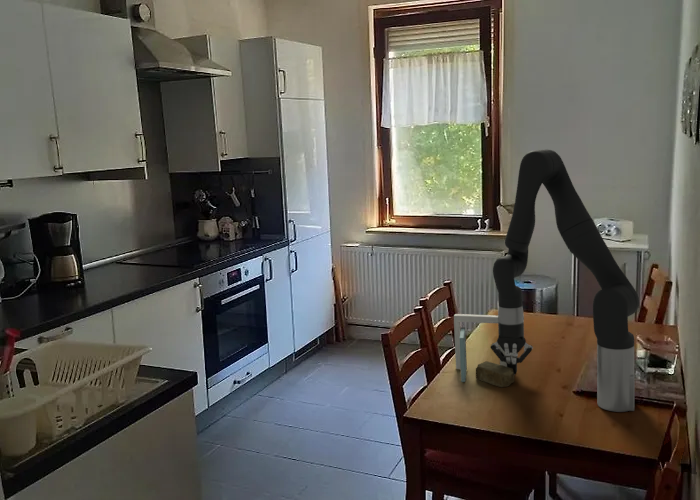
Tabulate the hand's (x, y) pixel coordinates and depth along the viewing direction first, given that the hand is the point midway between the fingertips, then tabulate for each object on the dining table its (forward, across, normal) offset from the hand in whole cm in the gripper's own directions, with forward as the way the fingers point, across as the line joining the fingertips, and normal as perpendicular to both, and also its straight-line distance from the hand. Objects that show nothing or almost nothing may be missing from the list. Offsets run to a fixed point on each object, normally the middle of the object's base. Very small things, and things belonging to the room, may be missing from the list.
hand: (512, 374), depth 197 cm
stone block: (+2, -5, -2) cm, 6 cm away
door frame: (+2, -11, +7) cm, 13 cm away
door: (+1, -15, 0) cm, 15 cm away
